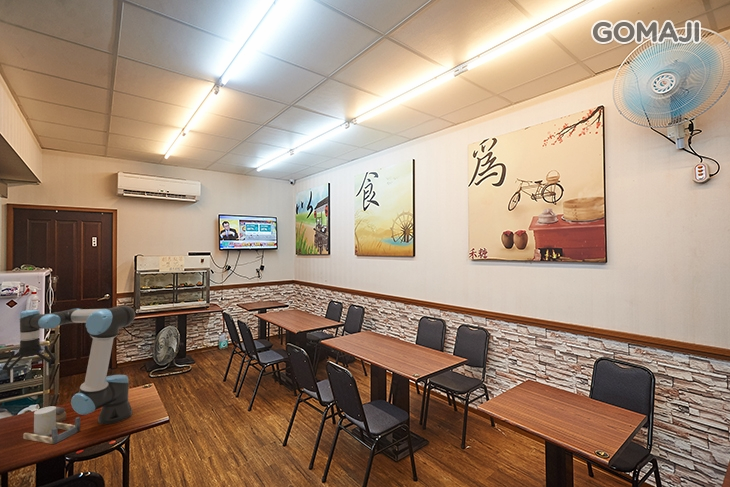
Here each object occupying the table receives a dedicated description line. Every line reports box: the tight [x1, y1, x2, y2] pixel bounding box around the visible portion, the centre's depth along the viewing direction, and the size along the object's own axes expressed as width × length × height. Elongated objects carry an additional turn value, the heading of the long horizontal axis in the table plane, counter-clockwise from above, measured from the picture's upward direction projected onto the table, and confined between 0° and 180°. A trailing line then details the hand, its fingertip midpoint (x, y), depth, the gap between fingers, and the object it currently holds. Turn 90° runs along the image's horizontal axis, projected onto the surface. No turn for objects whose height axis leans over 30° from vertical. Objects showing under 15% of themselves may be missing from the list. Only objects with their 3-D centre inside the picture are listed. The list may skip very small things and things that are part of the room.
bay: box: [22, 416, 81, 445], centre depth 169 cm, size 20×12×7 cm, turn 77°
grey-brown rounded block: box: [55, 406, 67, 423], centre depth 183 cm, size 7×4×7 cm, turn 77°
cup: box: [33, 405, 57, 437], centre depth 170 cm, size 8×8×12 cm
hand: (30, 378), depth 179 cm, fingers open, 13 cm apart
